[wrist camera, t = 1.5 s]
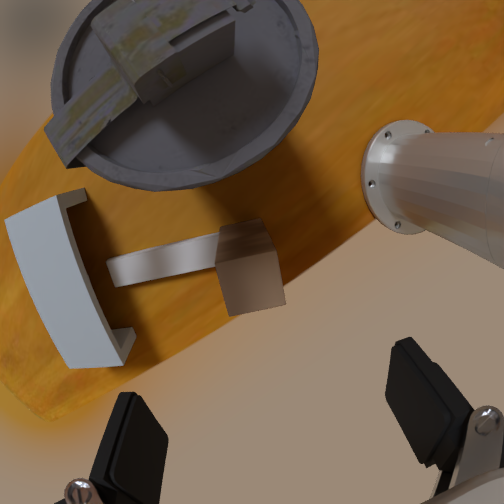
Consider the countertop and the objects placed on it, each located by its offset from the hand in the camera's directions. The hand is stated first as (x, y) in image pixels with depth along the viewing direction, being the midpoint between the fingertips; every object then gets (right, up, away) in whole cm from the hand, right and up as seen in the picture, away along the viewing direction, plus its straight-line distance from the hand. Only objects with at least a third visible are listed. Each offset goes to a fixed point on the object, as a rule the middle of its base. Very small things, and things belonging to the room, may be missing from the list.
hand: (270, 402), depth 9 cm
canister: (-5, +18, +15) cm, 24 cm away
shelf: (-20, +3, +19) cm, 28 cm away
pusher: (-8, +5, +19) cm, 21 cm away
